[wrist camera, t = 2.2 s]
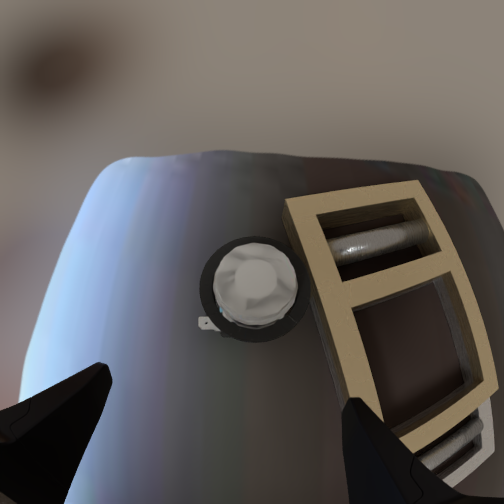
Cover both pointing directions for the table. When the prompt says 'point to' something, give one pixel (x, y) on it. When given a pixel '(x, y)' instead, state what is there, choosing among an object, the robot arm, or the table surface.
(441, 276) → the cream double window frame
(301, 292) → the push button
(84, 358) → the table surface
